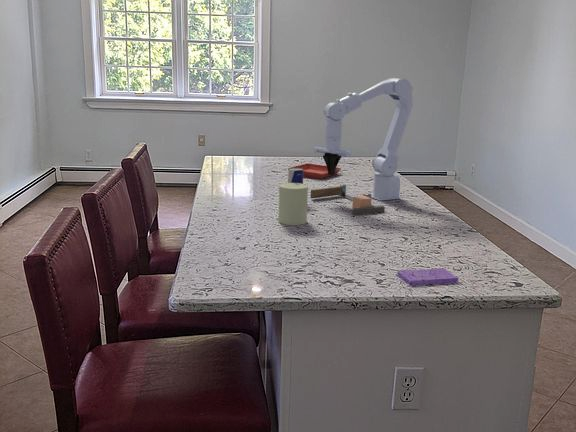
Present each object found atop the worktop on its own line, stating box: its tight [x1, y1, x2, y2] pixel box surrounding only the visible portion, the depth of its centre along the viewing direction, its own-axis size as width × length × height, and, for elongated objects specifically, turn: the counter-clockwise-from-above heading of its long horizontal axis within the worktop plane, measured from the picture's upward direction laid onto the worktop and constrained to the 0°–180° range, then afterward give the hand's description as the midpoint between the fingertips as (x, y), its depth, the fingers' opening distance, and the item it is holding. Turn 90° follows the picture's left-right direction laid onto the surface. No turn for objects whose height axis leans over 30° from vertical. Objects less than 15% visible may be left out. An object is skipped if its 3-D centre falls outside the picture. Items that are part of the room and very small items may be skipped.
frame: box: [338, 184, 373, 202], centre depth 222 cm, size 4×19×4 cm, turn 27°
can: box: [277, 182, 309, 226], centre depth 190 cm, size 9×9×12 cm
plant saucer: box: [287, 162, 342, 180], centre depth 269 cm, size 18×18×3 cm
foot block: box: [351, 195, 372, 210], centre depth 208 cm, size 4×4×4 cm
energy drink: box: [287, 167, 304, 184], centre depth 216 cm, size 5×5×12 cm
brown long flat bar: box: [310, 185, 340, 199], centre depth 224 cm, size 1×13×3 cm, turn 125°
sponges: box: [396, 267, 459, 286], centre depth 144 cm, size 7×13×2 cm, turn 104°
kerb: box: [352, 205, 386, 216], centre depth 204 cm, size 12×2×2 cm, turn 117°
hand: (331, 174), depth 219 cm, fingers closed
